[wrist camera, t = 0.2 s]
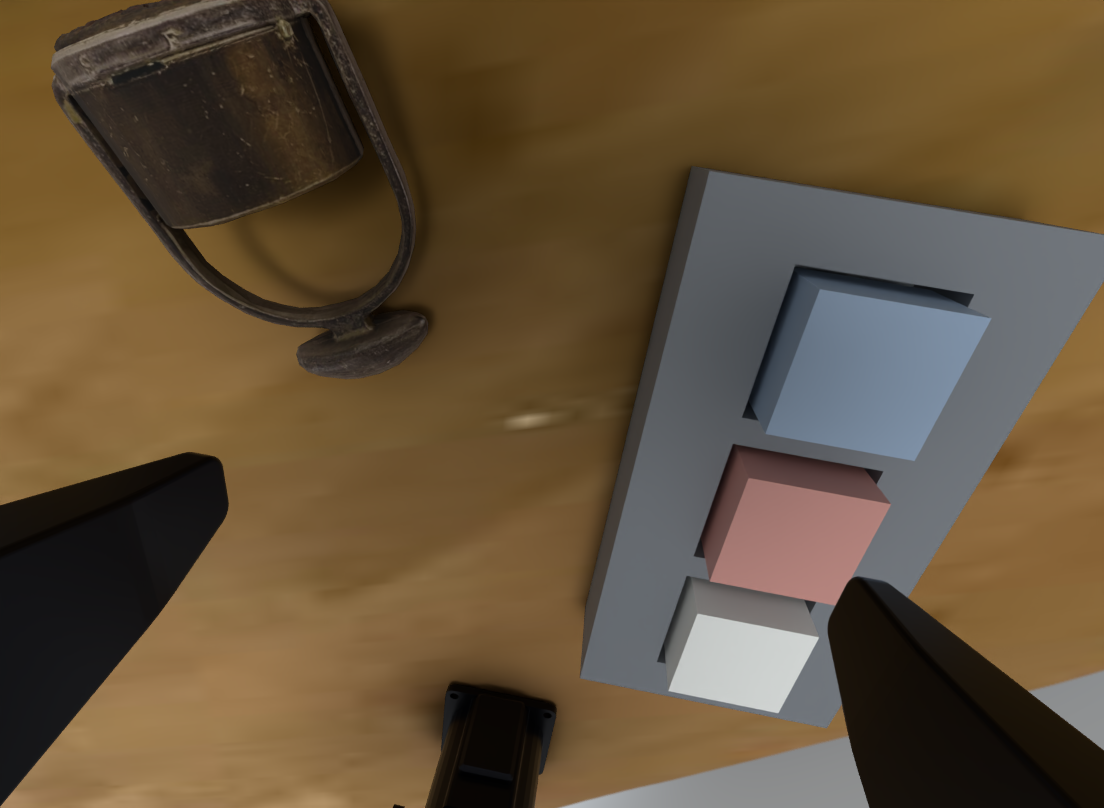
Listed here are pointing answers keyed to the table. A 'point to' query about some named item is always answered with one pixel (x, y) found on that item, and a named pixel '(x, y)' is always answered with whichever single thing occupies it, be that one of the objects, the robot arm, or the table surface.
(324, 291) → the table surface
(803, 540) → the red key
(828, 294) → the blue key
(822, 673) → the key panel
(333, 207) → the table surface
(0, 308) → the table surface
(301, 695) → the table surface
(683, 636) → the white key
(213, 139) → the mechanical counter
